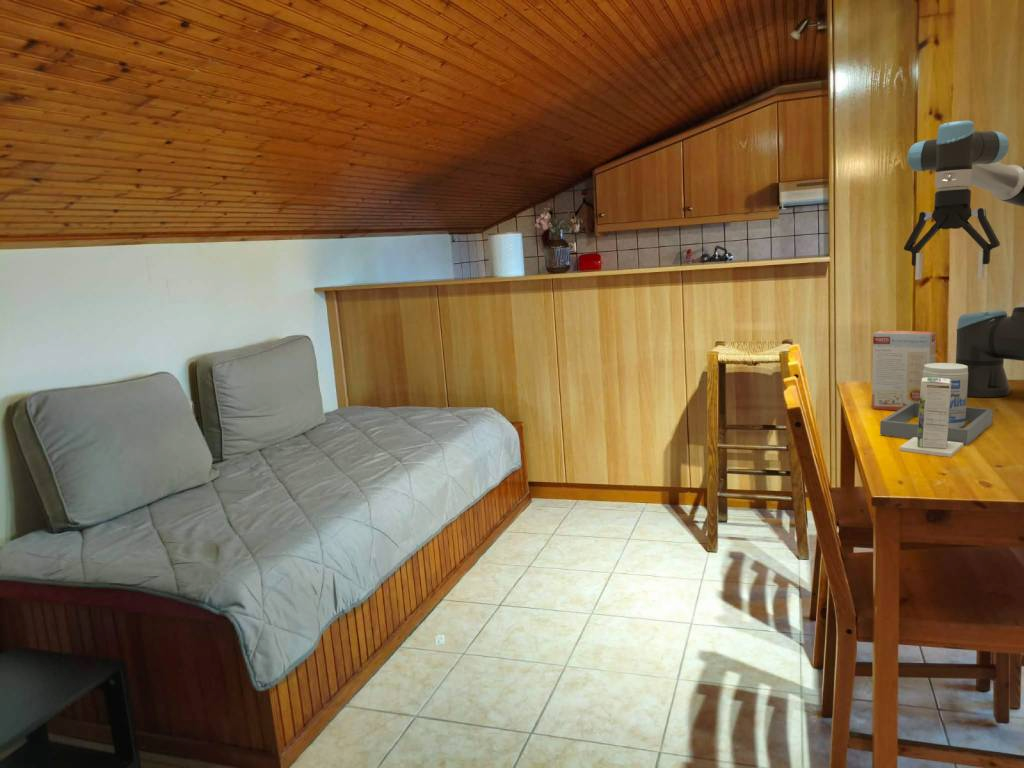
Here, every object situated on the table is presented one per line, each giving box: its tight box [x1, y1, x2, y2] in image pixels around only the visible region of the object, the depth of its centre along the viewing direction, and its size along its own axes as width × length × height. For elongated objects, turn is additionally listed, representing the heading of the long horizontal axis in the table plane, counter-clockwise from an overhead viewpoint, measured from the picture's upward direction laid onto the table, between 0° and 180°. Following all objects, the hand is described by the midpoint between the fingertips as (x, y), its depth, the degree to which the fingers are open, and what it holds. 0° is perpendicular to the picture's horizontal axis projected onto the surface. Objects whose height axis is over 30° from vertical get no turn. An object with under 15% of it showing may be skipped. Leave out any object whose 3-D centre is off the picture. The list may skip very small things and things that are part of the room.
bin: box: [879, 402, 994, 446], centre depth 182 cm, size 24×18×4 cm
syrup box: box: [917, 377, 951, 448], centre depth 166 cm, size 6×6×14 cm
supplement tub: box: [923, 362, 968, 428], centre depth 185 cm, size 10×10×15 cm
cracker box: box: [871, 330, 937, 412], centre depth 202 cm, size 14×6×21 cm, turn 48°
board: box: [899, 437, 964, 458], centre depth 167 cm, size 10×10×1 cm
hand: (948, 279), depth 187 cm, fingers open, 13 cm apart
